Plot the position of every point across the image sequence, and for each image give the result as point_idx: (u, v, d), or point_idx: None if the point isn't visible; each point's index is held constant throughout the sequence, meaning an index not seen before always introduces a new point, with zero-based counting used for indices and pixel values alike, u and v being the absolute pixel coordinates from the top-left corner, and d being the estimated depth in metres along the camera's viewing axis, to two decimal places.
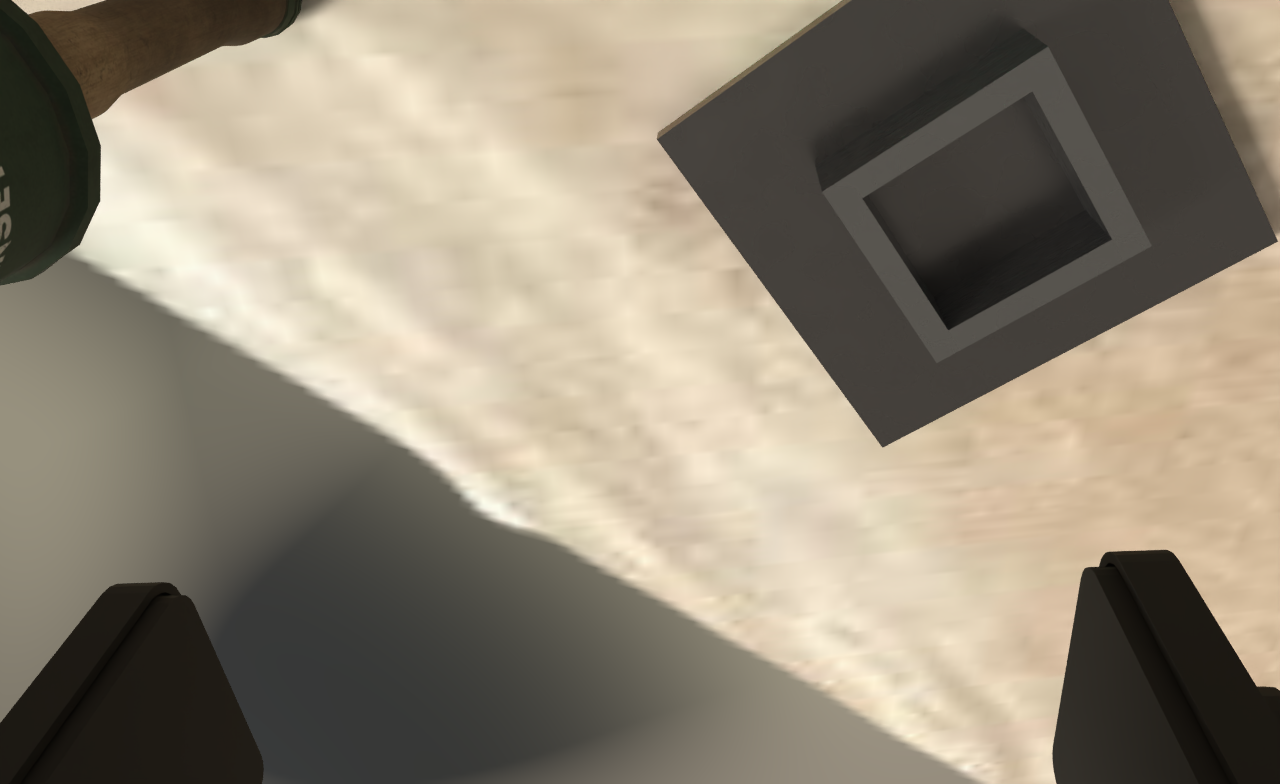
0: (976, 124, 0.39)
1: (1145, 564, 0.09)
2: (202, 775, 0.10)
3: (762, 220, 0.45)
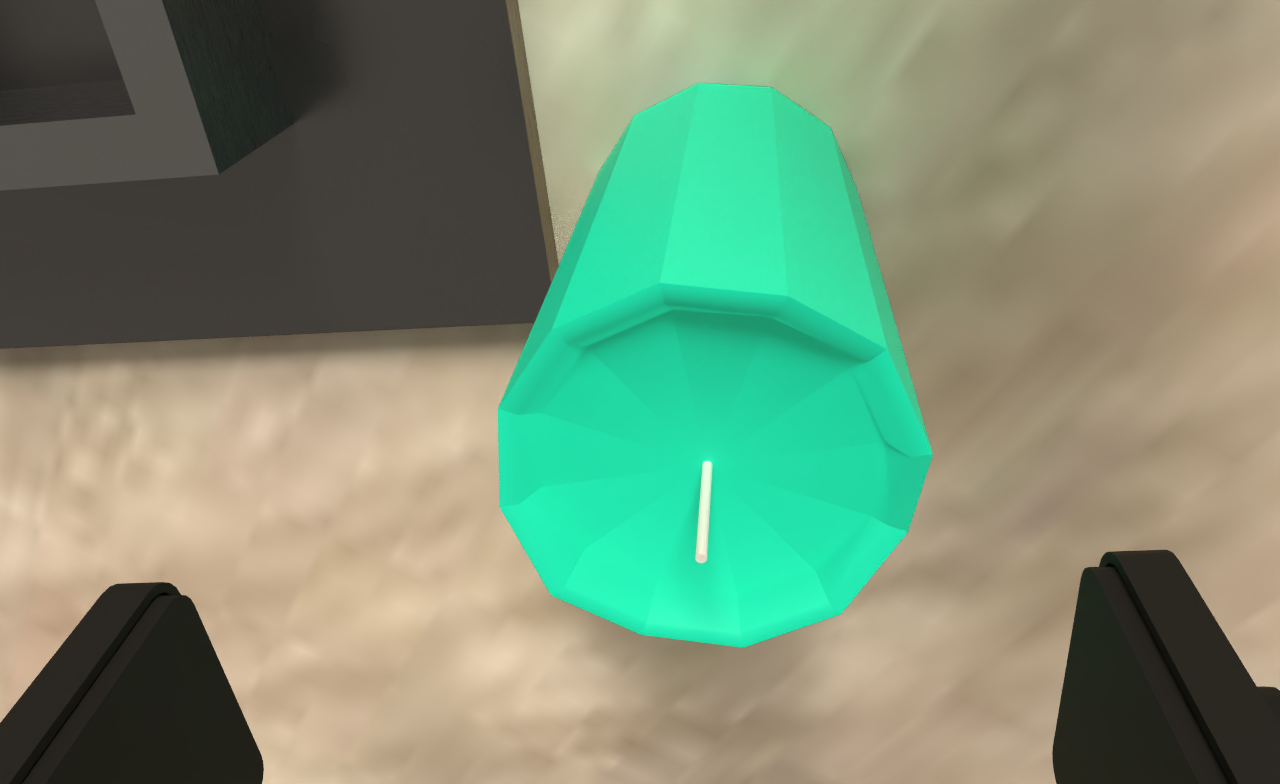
0: None
1: (1145, 564, 0.09)
2: (202, 775, 0.10)
3: None
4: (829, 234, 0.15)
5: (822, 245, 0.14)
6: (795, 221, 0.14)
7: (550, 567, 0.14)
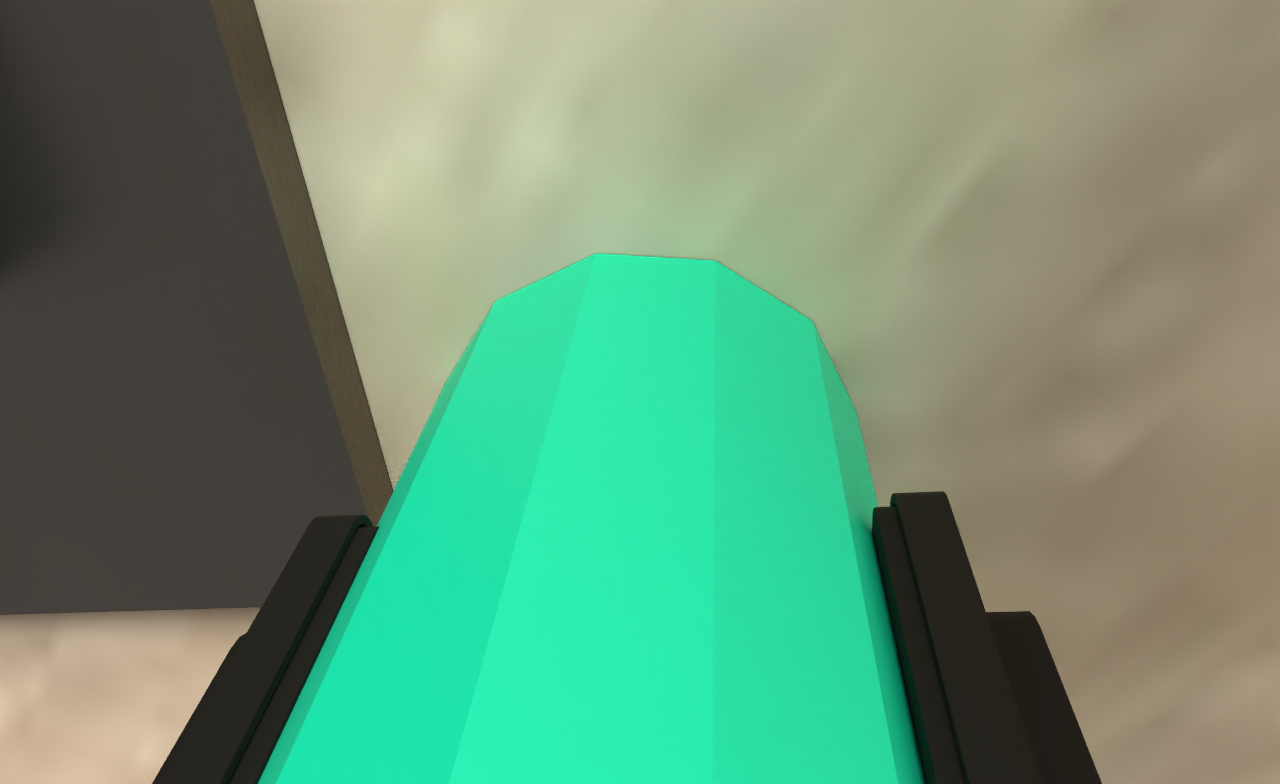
0: None
1: (918, 503, 0.10)
2: None
3: None
4: (823, 747, 0.07)
5: None
6: (748, 762, 0.06)
7: None
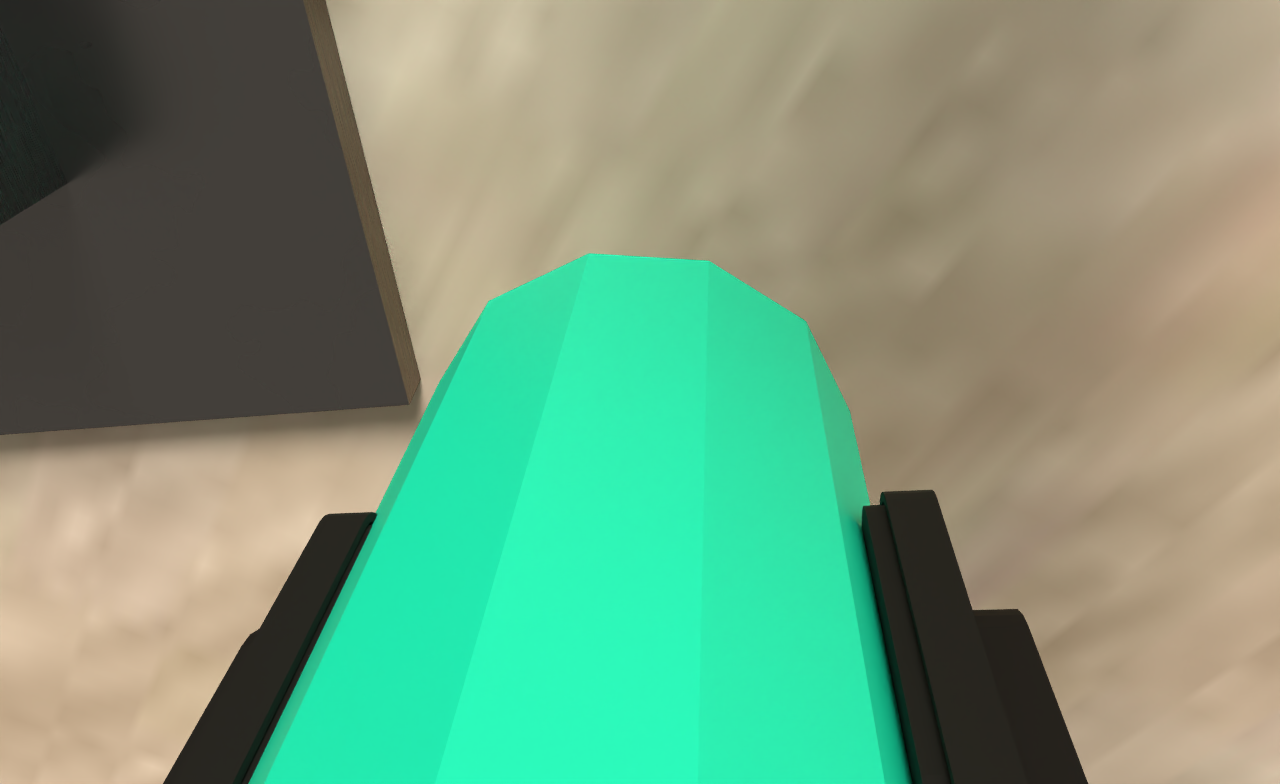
0: None
1: (907, 501, 0.10)
2: None
3: None
4: (810, 750, 0.07)
5: None
6: (734, 767, 0.06)
7: None
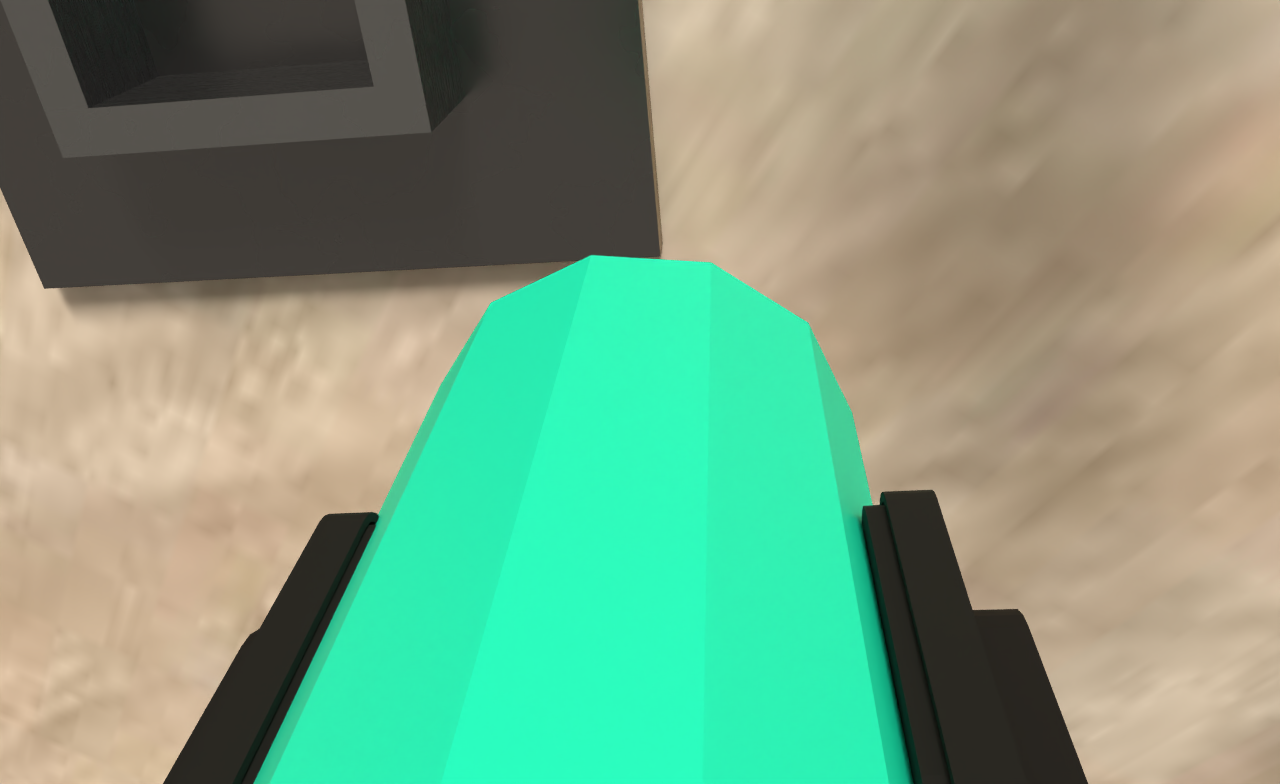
0: None
1: (907, 501, 0.10)
2: None
3: None
4: (815, 755, 0.07)
5: None
6: (739, 770, 0.06)
7: None
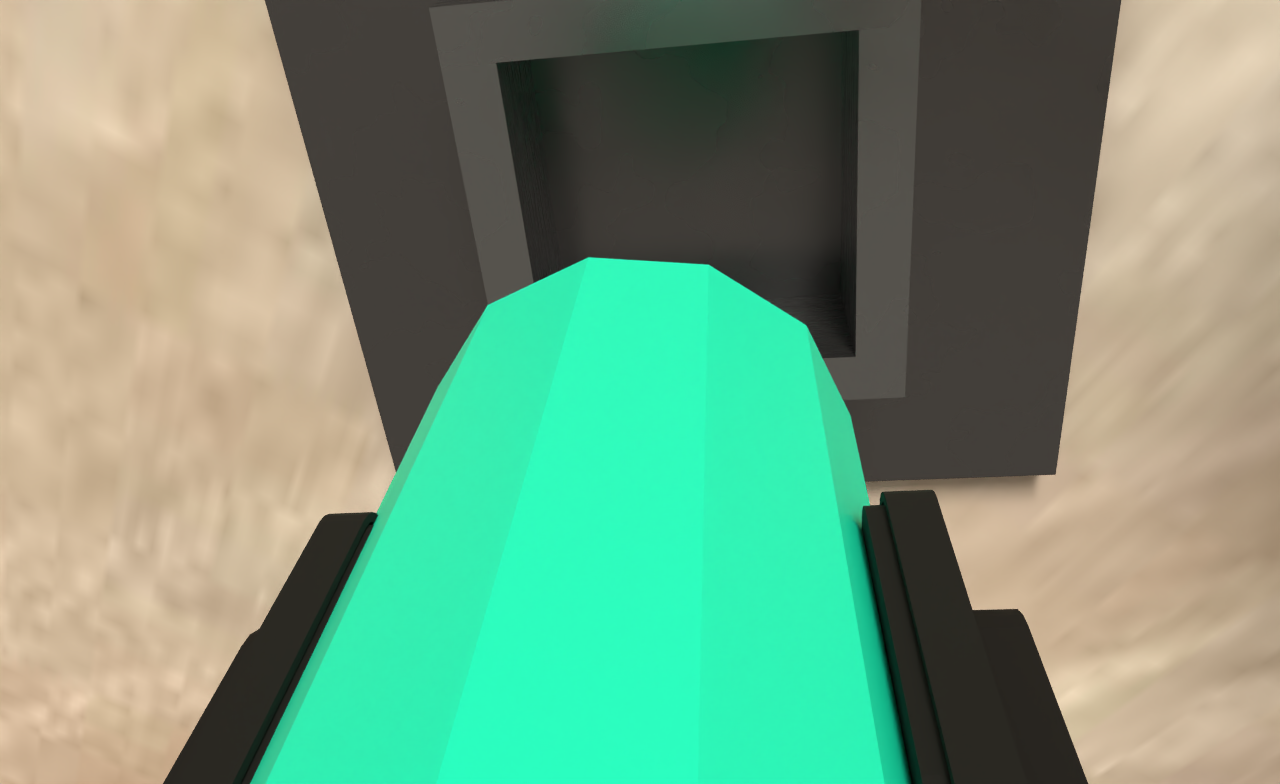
0: (855, 266, 0.22)
1: (907, 501, 0.10)
2: None
3: None
4: (811, 762, 0.07)
5: None
6: (733, 778, 0.06)
7: None
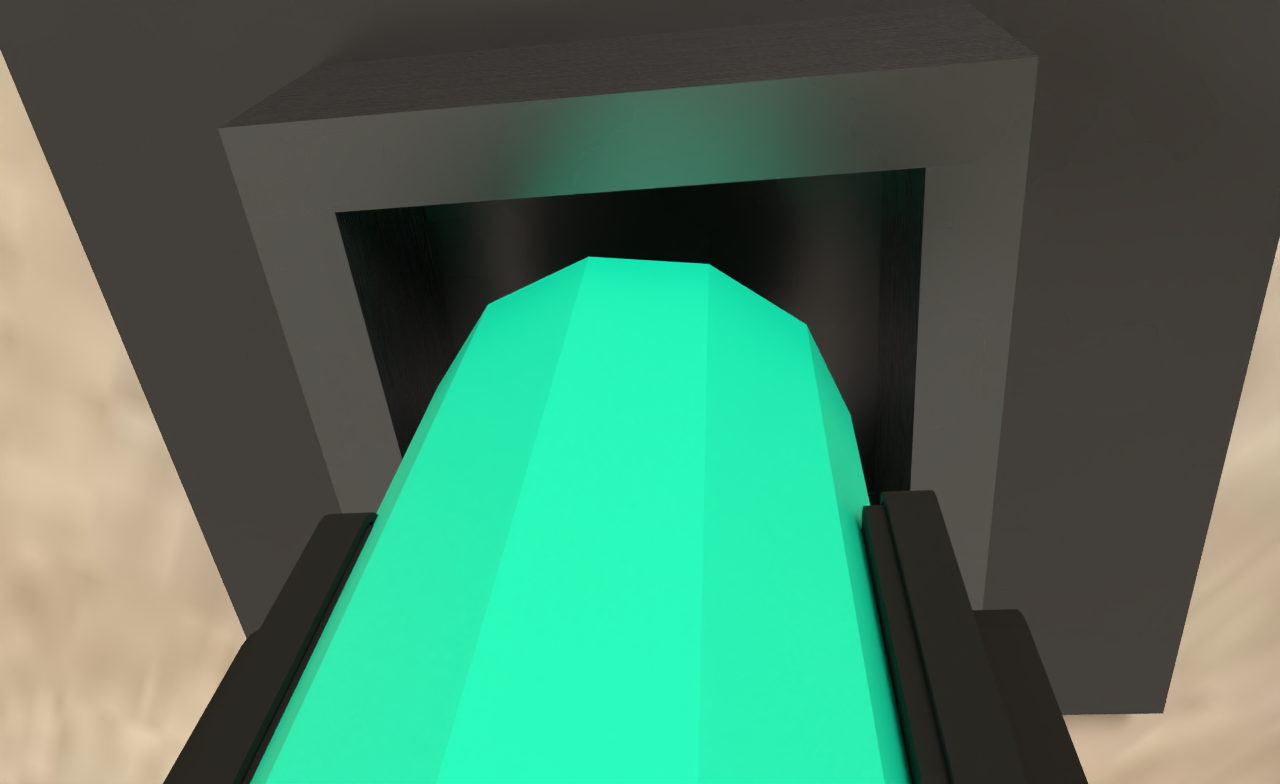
0: None
1: (907, 501, 0.10)
2: None
3: None
4: (811, 760, 0.07)
5: None
6: (733, 776, 0.06)
7: None
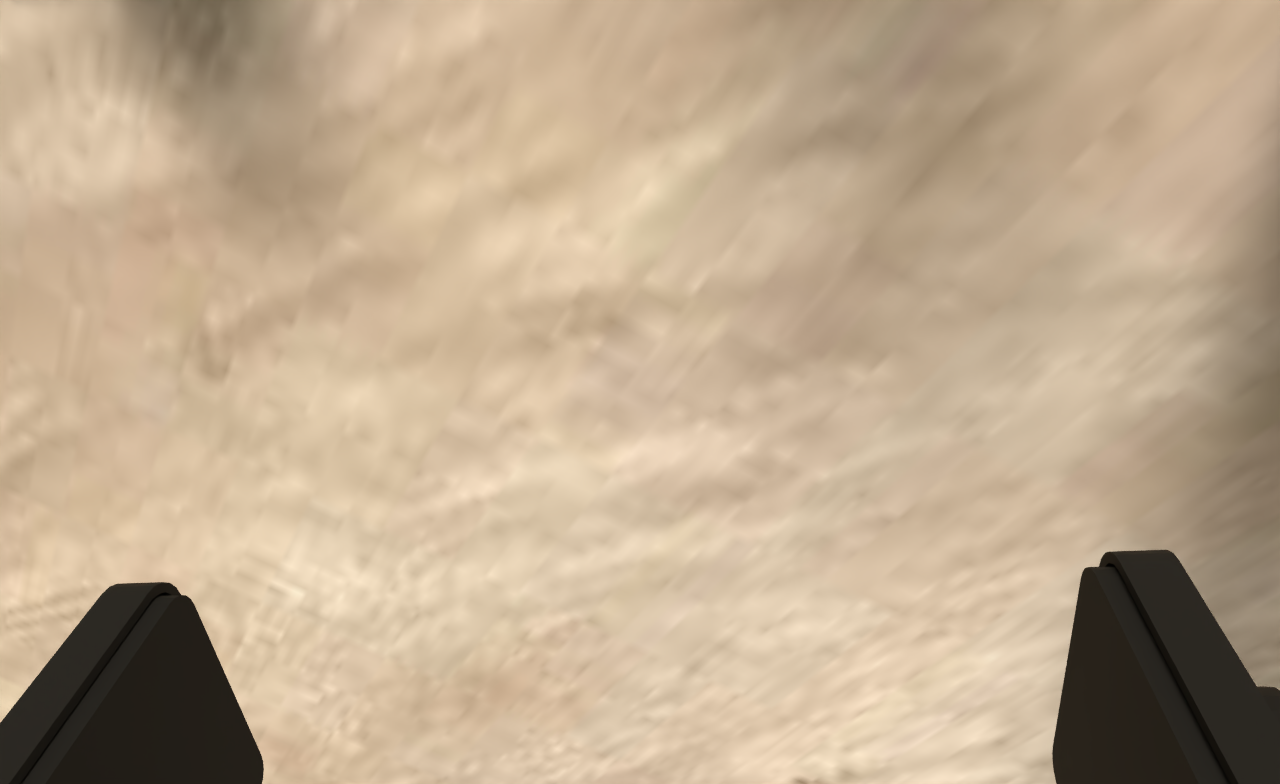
0: None
1: (1145, 565, 0.09)
2: (202, 775, 0.10)
3: None
4: None
5: None
6: None
7: None
